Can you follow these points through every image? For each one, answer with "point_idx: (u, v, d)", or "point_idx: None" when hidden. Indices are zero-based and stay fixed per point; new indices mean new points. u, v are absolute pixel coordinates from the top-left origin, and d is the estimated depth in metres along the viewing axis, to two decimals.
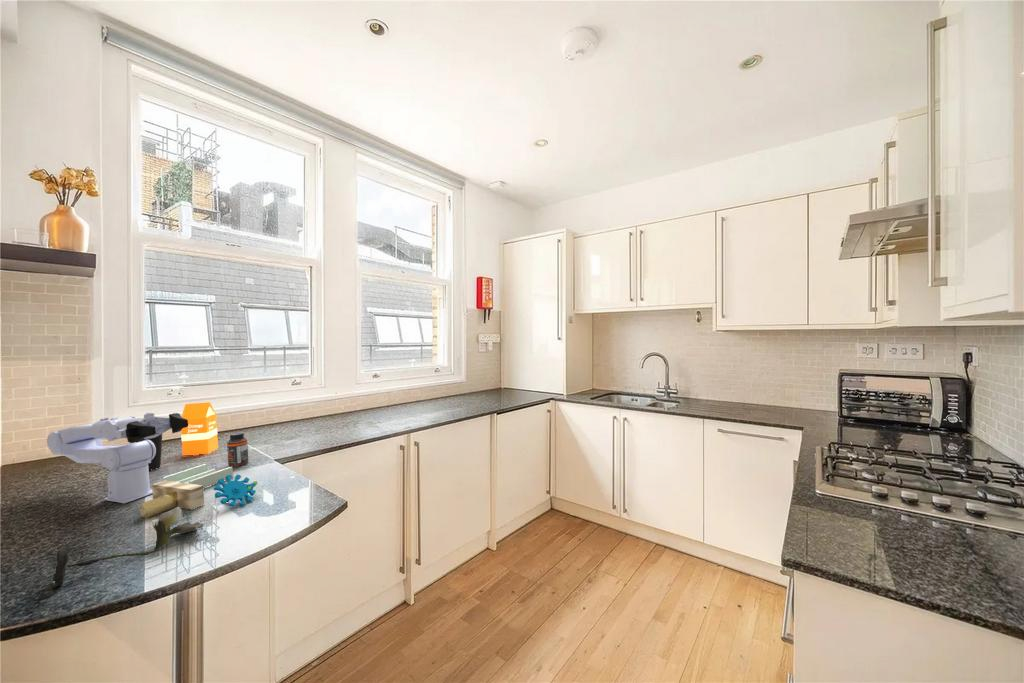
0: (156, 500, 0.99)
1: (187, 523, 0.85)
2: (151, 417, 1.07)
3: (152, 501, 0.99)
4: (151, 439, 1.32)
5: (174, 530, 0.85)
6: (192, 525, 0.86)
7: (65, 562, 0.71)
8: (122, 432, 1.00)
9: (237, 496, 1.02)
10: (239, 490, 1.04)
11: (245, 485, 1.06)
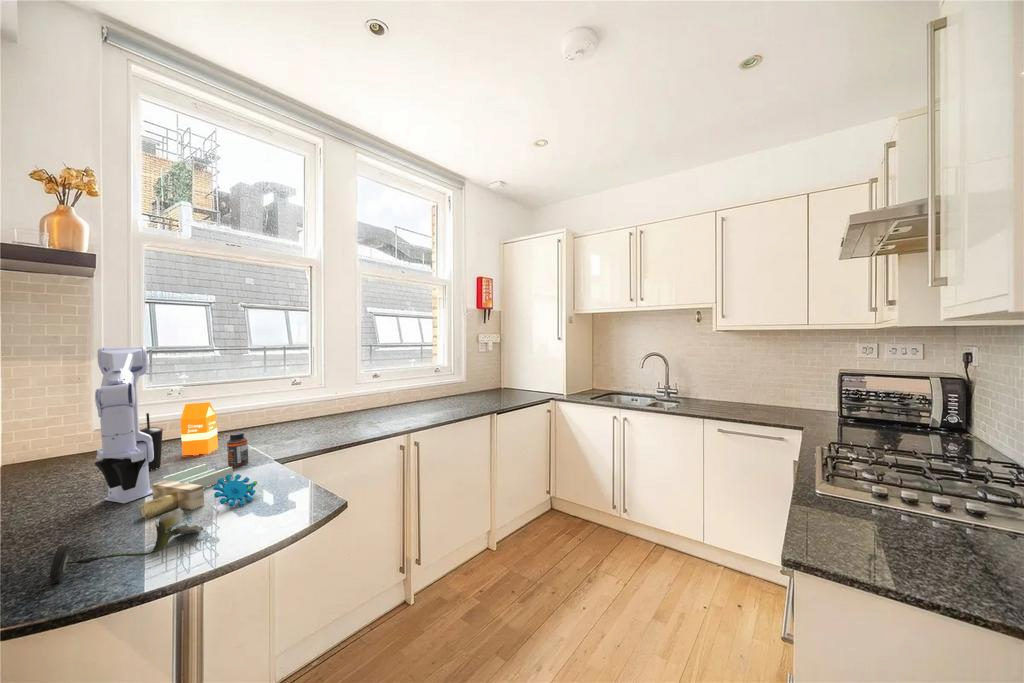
0: (158, 501, 0.99)
1: (185, 526, 0.84)
2: (105, 457, 0.90)
3: (154, 502, 0.98)
4: None
5: (174, 532, 0.84)
6: (191, 528, 0.85)
7: (61, 560, 0.71)
8: None
9: (237, 496, 1.02)
10: (239, 490, 1.04)
11: (245, 485, 1.06)
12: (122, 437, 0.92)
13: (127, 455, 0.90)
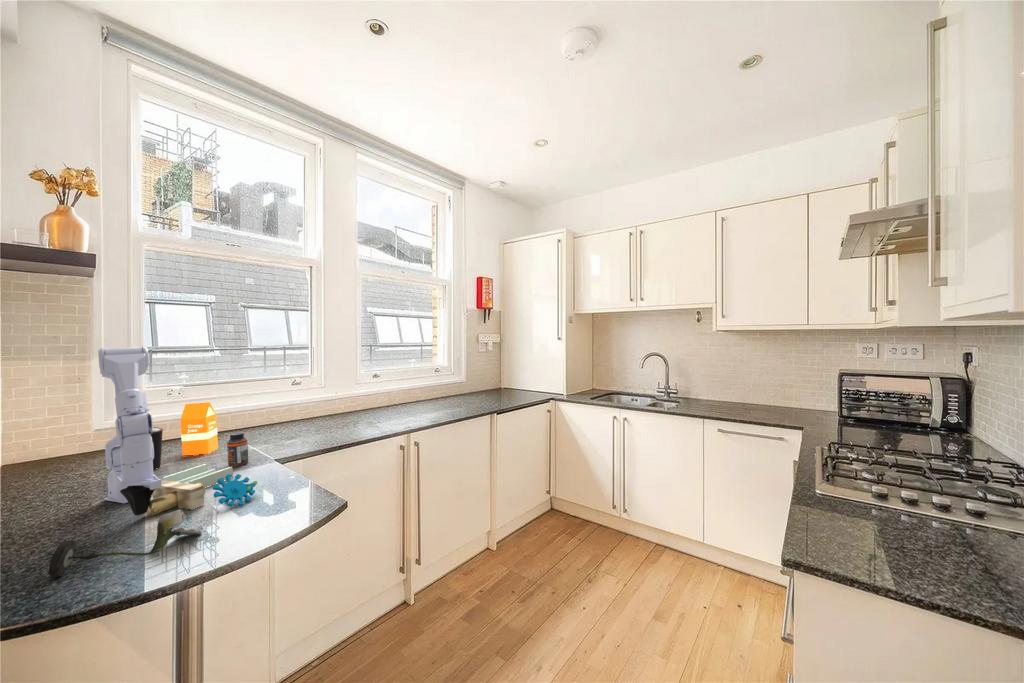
0: (161, 499, 1.00)
1: (182, 528, 0.83)
2: None
3: (157, 500, 0.99)
4: None
5: (172, 533, 0.83)
6: (188, 531, 0.84)
7: (60, 555, 0.73)
8: None
9: (236, 496, 1.03)
10: (238, 490, 1.04)
11: (245, 485, 1.06)
12: (141, 465, 0.95)
13: (145, 483, 0.94)
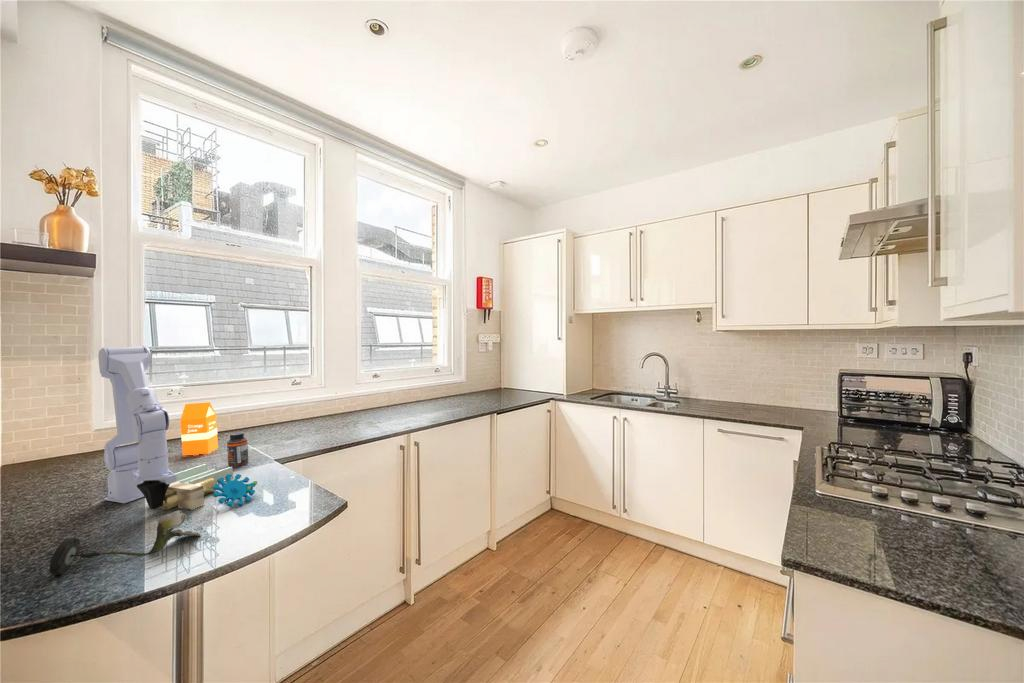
0: (176, 493, 1.03)
1: (180, 530, 0.82)
2: None
3: (172, 494, 1.02)
4: None
5: (171, 534, 0.83)
6: (186, 532, 0.83)
7: (61, 554, 0.74)
8: None
9: (236, 496, 1.03)
10: (238, 490, 1.04)
11: (244, 485, 1.06)
12: (157, 460, 0.98)
13: (162, 477, 0.97)
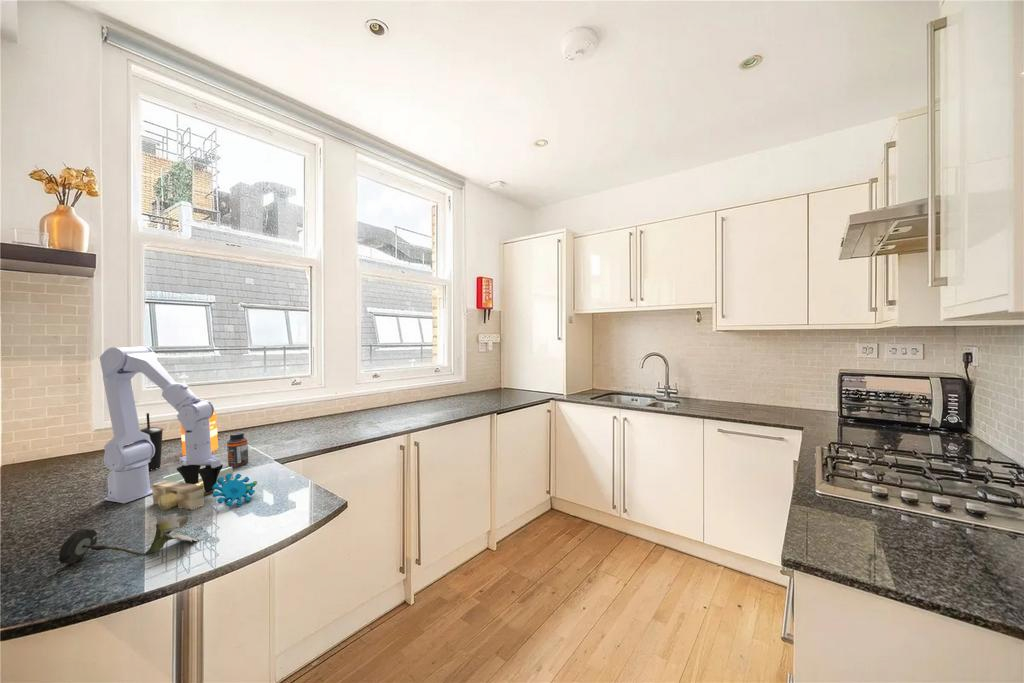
0: (172, 492, 1.03)
1: (170, 535, 0.80)
2: None
3: (169, 494, 1.03)
4: (151, 439, 1.32)
5: (166, 538, 0.81)
6: (177, 538, 0.81)
7: (70, 544, 0.77)
8: None
9: (235, 496, 1.03)
10: (237, 490, 1.04)
11: (244, 485, 1.07)
12: (202, 447, 1.08)
13: (207, 462, 1.07)
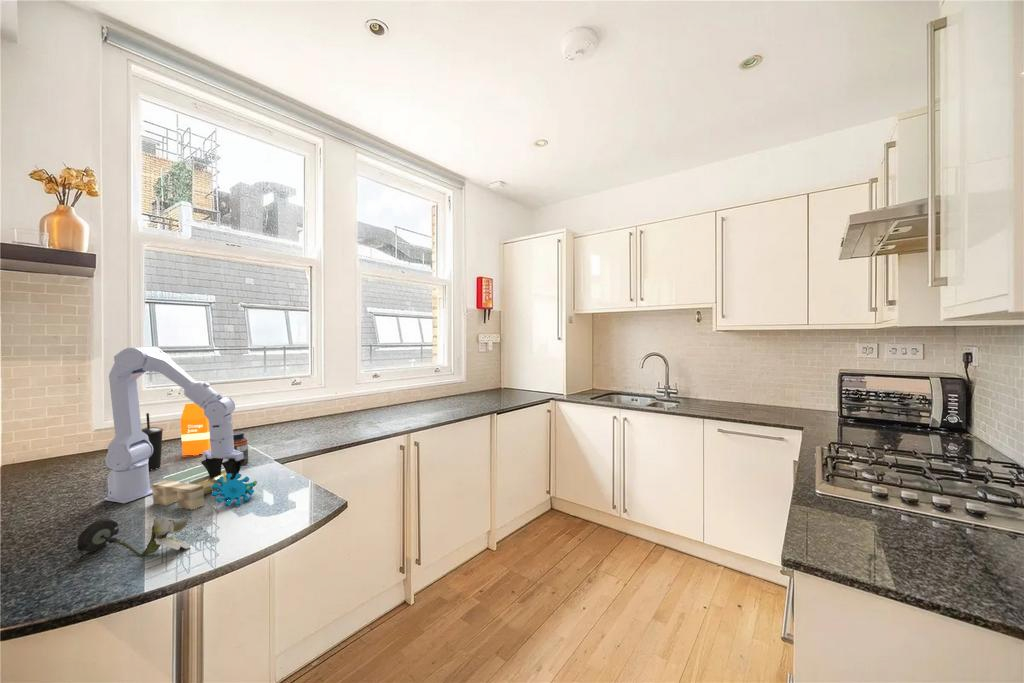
0: (199, 483, 1.09)
1: (156, 541, 0.78)
2: (213, 457, 1.13)
3: (195, 484, 1.09)
4: (151, 439, 1.32)
5: None
6: None
7: (86, 534, 0.81)
8: None
9: (234, 495, 1.03)
10: (237, 489, 1.04)
11: (244, 484, 1.07)
12: (226, 441, 1.14)
13: (231, 455, 1.13)
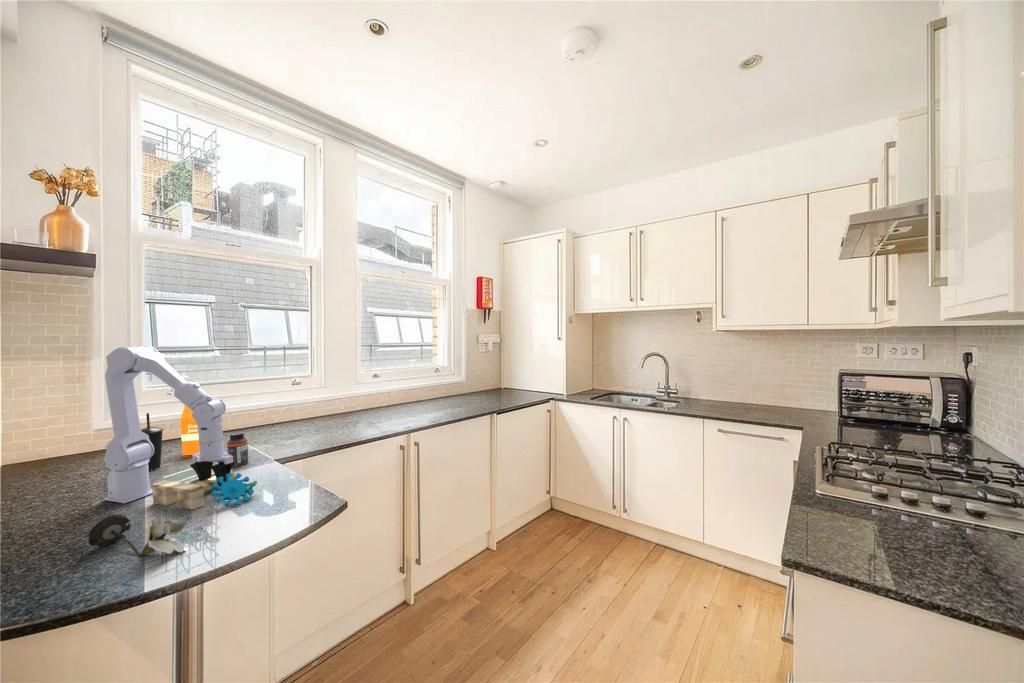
0: (195, 483, 1.10)
1: None
2: (202, 460, 1.10)
3: None
4: (151, 439, 1.32)
5: None
6: None
7: (96, 529, 0.83)
8: None
9: (233, 495, 1.03)
10: (236, 489, 1.04)
11: (244, 484, 1.07)
12: (215, 444, 1.12)
13: (220, 458, 1.10)
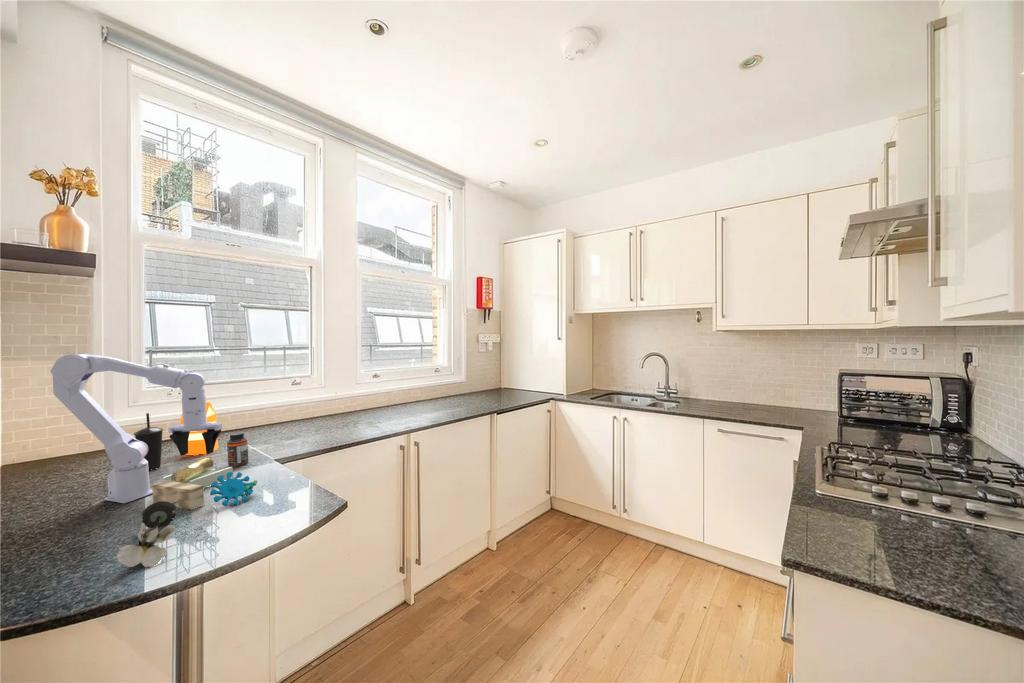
0: None
1: None
2: (189, 429, 1.16)
3: None
4: (151, 439, 1.32)
5: None
6: None
7: (144, 512, 0.90)
8: None
9: (232, 495, 1.03)
10: (235, 489, 1.05)
11: (243, 484, 1.07)
12: (202, 413, 1.18)
13: (211, 425, 1.18)
